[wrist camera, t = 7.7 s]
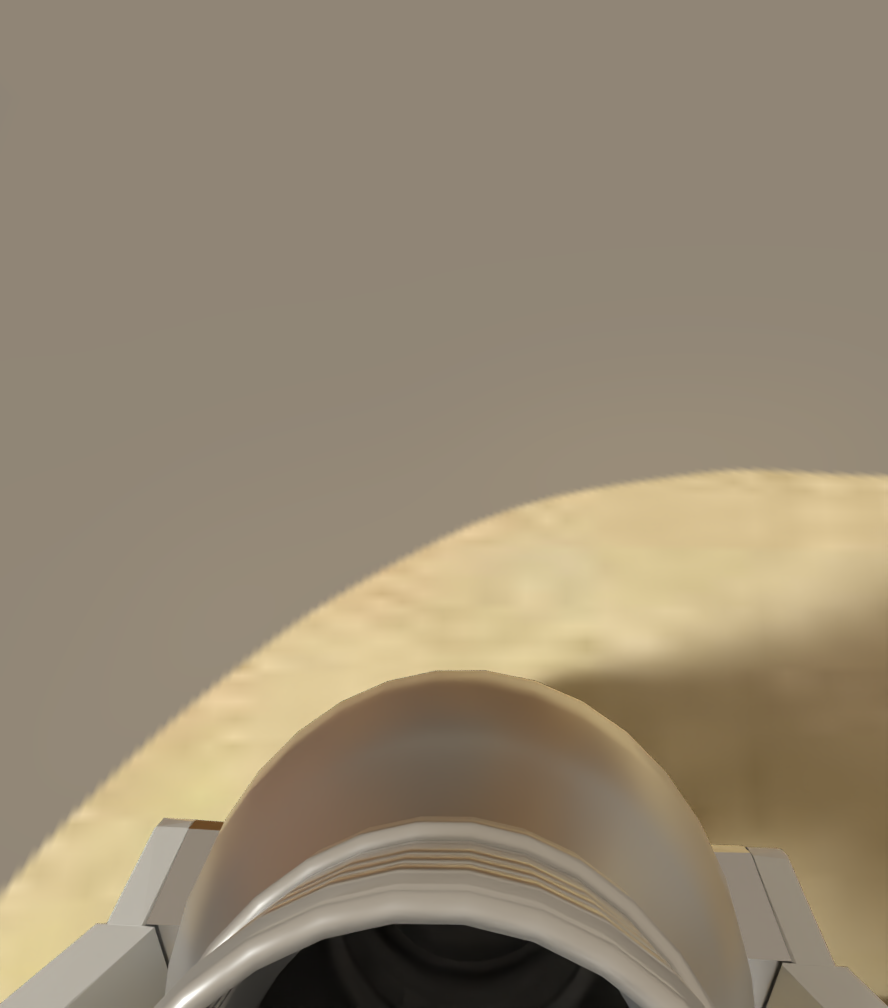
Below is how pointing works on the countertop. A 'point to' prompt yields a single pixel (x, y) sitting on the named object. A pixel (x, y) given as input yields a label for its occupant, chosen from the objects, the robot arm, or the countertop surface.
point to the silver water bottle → (460, 865)
